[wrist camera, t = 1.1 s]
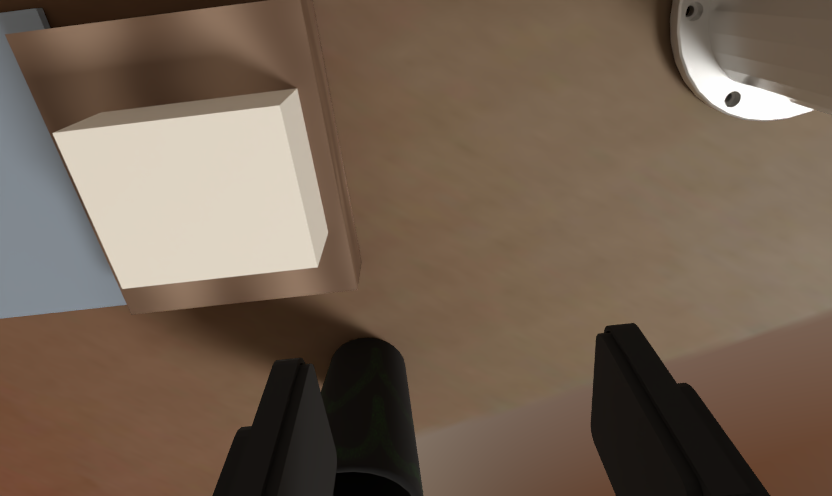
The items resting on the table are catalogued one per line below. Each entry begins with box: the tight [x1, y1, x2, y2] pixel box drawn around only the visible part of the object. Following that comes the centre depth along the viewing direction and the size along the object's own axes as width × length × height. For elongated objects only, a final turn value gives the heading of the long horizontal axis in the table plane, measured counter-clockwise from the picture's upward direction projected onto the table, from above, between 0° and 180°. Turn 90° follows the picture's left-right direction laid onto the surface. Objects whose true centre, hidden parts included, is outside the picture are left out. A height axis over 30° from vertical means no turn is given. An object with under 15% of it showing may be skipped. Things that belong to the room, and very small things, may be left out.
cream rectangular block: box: [52, 88, 328, 289], centre depth 25 cm, size 10×8×4 cm
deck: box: [5, 0, 362, 315], centre depth 29 cm, size 14×16×4 cm
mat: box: [0, 8, 127, 319], centre depth 31 cm, size 11×18×1 cm, turn 7°
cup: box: [321, 338, 423, 496], centre depth 33 cm, size 8×8×12 cm
